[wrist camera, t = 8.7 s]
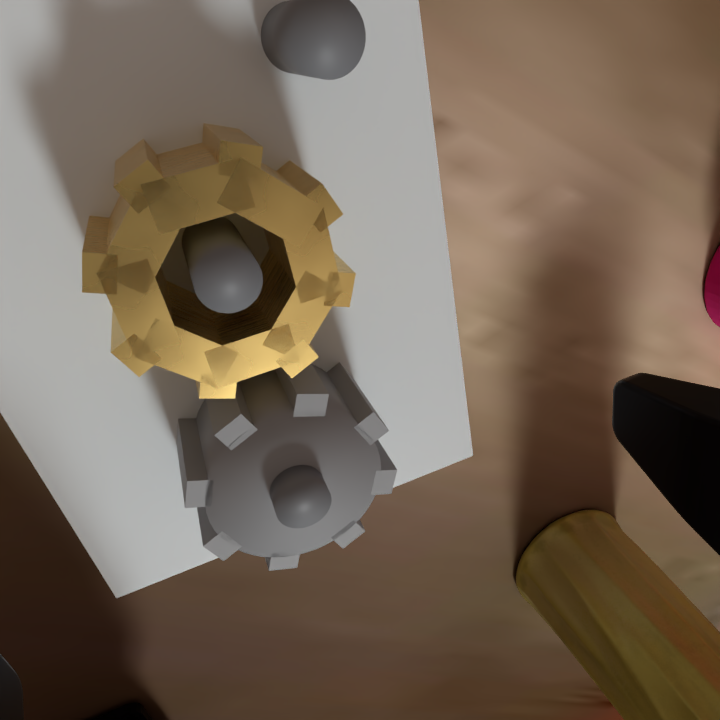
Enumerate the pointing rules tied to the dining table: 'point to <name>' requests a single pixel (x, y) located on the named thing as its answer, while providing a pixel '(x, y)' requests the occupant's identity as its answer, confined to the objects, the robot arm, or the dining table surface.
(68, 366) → the gear board
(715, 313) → the pepper mill
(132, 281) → the gear
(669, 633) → the vase
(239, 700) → the dining table surface
